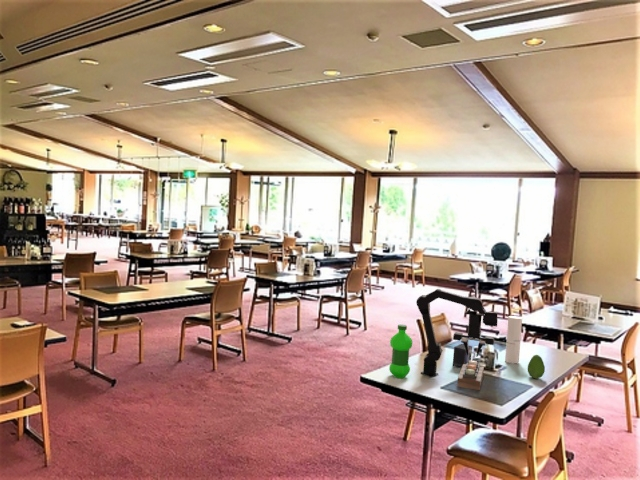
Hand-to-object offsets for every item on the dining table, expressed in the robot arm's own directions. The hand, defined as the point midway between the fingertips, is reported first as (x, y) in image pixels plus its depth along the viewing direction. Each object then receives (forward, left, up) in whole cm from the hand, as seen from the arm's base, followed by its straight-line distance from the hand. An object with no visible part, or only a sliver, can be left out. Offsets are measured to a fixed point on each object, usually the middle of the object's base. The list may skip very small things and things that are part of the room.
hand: (472, 356), depth 251 cm
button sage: (-7, -4, -7) cm, 10 cm away
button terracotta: (0, 0, -7) cm, 7 cm away
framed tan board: (0, 0, -12) cm, 12 cm away
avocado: (+33, -16, -12) cm, 38 cm away
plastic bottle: (-26, +23, -12) cm, 37 cm away
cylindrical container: (+50, +6, -12) cm, 52 cm away
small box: (+18, +17, -12) cm, 28 cm away
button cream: (+7, +4, -7) cm, 10 cm away
